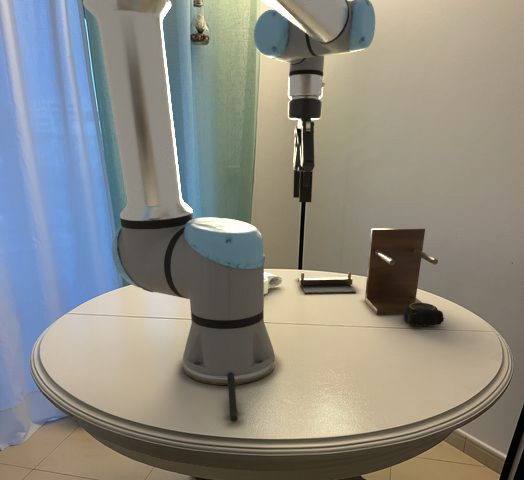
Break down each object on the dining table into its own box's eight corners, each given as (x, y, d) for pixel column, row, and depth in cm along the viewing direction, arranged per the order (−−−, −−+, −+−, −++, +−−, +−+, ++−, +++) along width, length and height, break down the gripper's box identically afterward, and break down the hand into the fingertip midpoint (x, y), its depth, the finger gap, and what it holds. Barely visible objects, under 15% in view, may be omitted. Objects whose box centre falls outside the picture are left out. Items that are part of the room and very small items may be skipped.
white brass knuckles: (289, 288, 119) (244, 299, 111) (249, 275, 132) (206, 284, 124) (290, 276, 118) (244, 285, 109) (248, 264, 131) (205, 271, 122)
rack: (433, 316, 98) (446, 237, 92) (379, 317, 98) (387, 238, 91) (413, 300, 110) (423, 228, 103) (364, 301, 109) (371, 228, 102)
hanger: (352, 284, 121) (353, 272, 120) (300, 285, 120) (300, 273, 119) (350, 283, 122) (351, 271, 121) (299, 284, 122) (299, 272, 120)
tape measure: (409, 330, 91) (411, 312, 90) (398, 318, 97) (400, 301, 96) (442, 329, 91) (445, 311, 90) (429, 317, 98) (431, 301, 96)
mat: (355, 292, 115) (355, 291, 115) (304, 293, 115) (305, 292, 115) (343, 278, 128) (343, 277, 128) (298, 279, 128) (298, 278, 127)
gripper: (332, 91, 89) (325, 204, 98) (313, 105, 112) (310, 196, 121) (294, 91, 89) (291, 204, 97) (283, 105, 112) (281, 195, 120)
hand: (301, 199), depth 109 cm, fingers open, 13 cm apart
